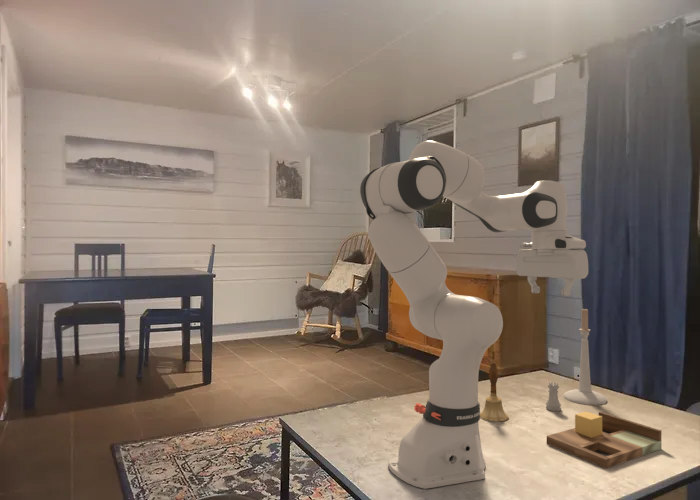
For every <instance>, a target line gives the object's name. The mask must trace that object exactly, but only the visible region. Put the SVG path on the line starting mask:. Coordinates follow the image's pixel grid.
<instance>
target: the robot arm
mask: <svg viewBox="0 0 700 500" xmlns="http://www.w3.org/2000/svg"><path fill="white" fill-rule="evenodd" d="M485 180H486V174H485V168H484V167H483V165H482V164H481V163H480V161H478V160H477V159H476V158H475V157H472V156H471V155H469V154H467V153H466V152H464V151H461V150H460V149H458V148H455V147H453V146H450V145H448V144H445V143H443V142H438V141H436V140H435V141H434V140H425V141H422V142H420V143H419V144H417V145H416V146H415V147H414V148H413V150H412V151H411V153H410V155H409V158H408V159H407V160H405V161H399V162H398V161H396V162H391V163H388V164H386V165H383V166H382V167H377V168H375V169H373V170H371V171H370V172H369V173H367V174H366V175H365V176H364V178H363V179H362V181H361V183H360V189H359V190H360V191H359V193H360V194H359V195H360V198H361V201H362V204H363V205H364V207H365V211H366V214H367V216H368V217H369V218H370V219H372V221H371V223H370V225H369V226H368V229H367V235H368V239H369V242H370V244H371V246H372V248H373V250H374V252H375V254H376V255H377V257H378V258H379V260H380V261H381V263H382V265H383V267H384V268H385V269H386V270H387V272H388V274H389V275H390V276H391V277H392V278H393V280H394V281H395V283H396V285H398V287H399V288H400V289H401V291H402V292H403V294H404V295H405V297H406V300H407V301H408V304H409V311H408V317H409V321H410V324H411V326H412V327H413V328H414V329H415V330H417V331H418V332H420V333H421V334H423V335H424V336H427V337H429V338H432V339H437V340H440V341H442V345H443V346H442V349H441V352H440V353H441V354H440V355H439V358H437V359H436V360H434V361H433V362H432V363H431V364H430V366H429V370H428V389H429V391H428V392H429V393H428V395H429V396H428V399H427V401H426V404H425V405H423V404H421V403H419V402H417V403H415V406H414V408H413V409H414V411H415V412H416V413H419V414H420V415H422V418H421V419H420V420H419V421H418V422H417V423H416V425H414V426H413V427H412V428H411V429H410V430H409V431H408V432H407V433H406V434H405V435H404V436H403V437H402V438H401V439H400V443H399V447H398V455H397V456H395V457H392V458H390V459H389V460H388V464H387V465H388V466H387V467H388V469H389V470H390V472H391V473H392V474H393V475H395V476H396V477H397V478H398V479H400V480H402V481H403V482H405V483H407V484H409V485H411V486H413V487H417V488H421V489H424V490H425V489H432V488H437V487H438V488H440V487H444V486H450V485H456V484H462V483H468V482H474V481H480V480H483V479H485V478H486V473H485V469H486V465H487V464H486V462H485V458H484V457H485V456H484V454H483V449H482V442H481V435H480V427H479V426H480V425H479V421H480V419H481V418H480V413H481V405H480V402H479V371H480V366H481V363H482V360H483V357H484V355H485V353H486V352H487V350H488V349H489V347H491V346H492V345H494V344H495V343H496V342H497V341H498V339H499V338H500V336H501V334H502V332H503V328H504V321H503V315H502V313H501V310H500V309H499V307H498V306H497V305H496V304H495V303H493V302H490V301H488V300H486V299H483V298H480V297H477V296H472V295H462V294H456V293H454V292H452V291H451V290H450V289H449V288H448V287H447V285H446V279H447V276H448V269H447V266H446V264H445V263H444V260H442V258H441V257H440V255H439V254H438V253H437V251H436V250H435V248H434V247H433V245H432V244H431V242H430V241H429V240H428V238H427V237H426V235H425V234H424V233H423V232H422V229H420V228H419V226H418V223H417V219H416V216H415V215H416V213H415V212H417V211H425V210H428V209H431V208H432V207H434V206H436V205H437V204H438V203H439V202H440V201H441V199H442V197H443V198H445V199H447V200H449V201H450V202H452V203H453V204H454V205H456V206H457V207H459V208H461V209H462V210H464V211H466V212H468V213H469V214H471V215H473V216H475V218H477V219H479V221H481V223H482V224H483V225H484V226H485V227H486V228H487V229H488V230H489V231H491V232H493V233H503V232H512V231H526V230H527V231H529V230H530V231H531V242H522V244H520V246H519V247H518V251H517V258H516V265H515V267H516V274H517V275H518V276H519V277H527V283H528V284H529V285H530V288H531V289H530V291H531V293H532V294H540V292H541V287H540V286H538V284H537V282H536V281H537V280H538V279H537V278H538V277H539V278H557V279H563V280H564V281H563V282H564V283H565V285H564V287H563V288H561V289H560V292H561V293H560V295H561V296H562V297H570V296H571V289H572V287H573V285H574V284H575V280H581V279H582V280H583V279H586V278H587V277H588V275H589V259H588V254H587V252H586V250H584V249H586V247H587V242H586V240H584V239H581V238H577V237H575V236H572V235H570V234H569V233H568V231H569V230H568V227H567V217H568V199H567V192H566V189H565V186H564V184H563V183H562V182H560V181H557V180H553V179H551V180H549V179H542V180H537V181H535V182H534V183H533V186H532V187H530V188H529V189H527V190H525V191H523V192H518V193H511V194H503V195H488V194H486V193H485V192H483V191H482V190H483V187H484V185H485V182H486V181H485Z"/></svg>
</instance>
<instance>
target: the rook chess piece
mask: <svg viewBox="0 0 700 500" xmlns="http://www.w3.org/2000/svg"><path fill="white" fill-rule="evenodd" d="M547 387H548V392H549V393H548V399H547V401H546V403H545V408H546V410H547V411H549V412H550V411H551V412H559V411H561V410H562V404H561V402H560V401H559V395H558V394H559V390H558V389H559V388H560V387H559V385H558V383H557V382H552V381H550V382H548V385H547Z"/></svg>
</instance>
